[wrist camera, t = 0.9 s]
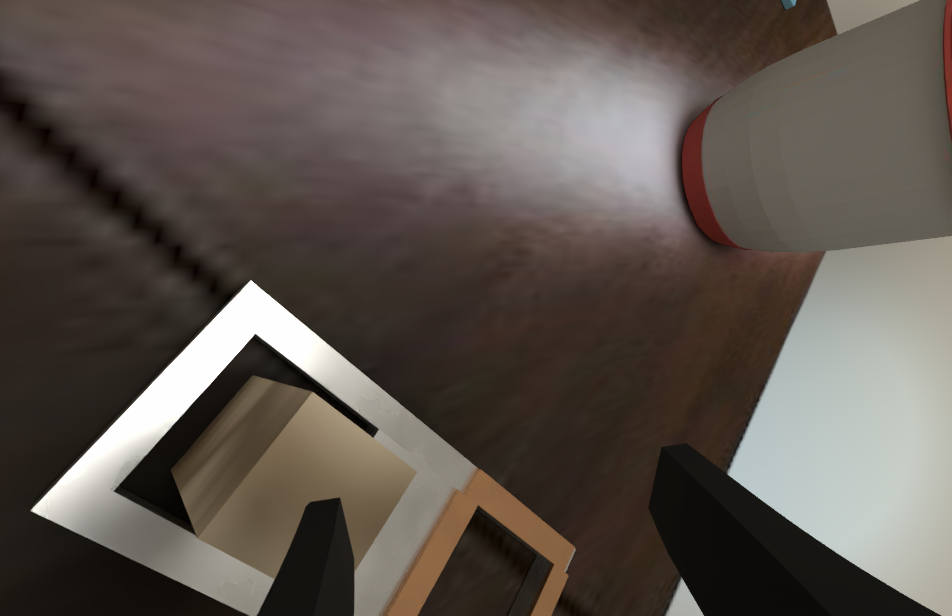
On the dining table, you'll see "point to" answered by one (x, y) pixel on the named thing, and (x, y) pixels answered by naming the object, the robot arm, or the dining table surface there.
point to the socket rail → (437, 463)
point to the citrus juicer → (833, 142)
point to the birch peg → (284, 474)
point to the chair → (788, 3)
